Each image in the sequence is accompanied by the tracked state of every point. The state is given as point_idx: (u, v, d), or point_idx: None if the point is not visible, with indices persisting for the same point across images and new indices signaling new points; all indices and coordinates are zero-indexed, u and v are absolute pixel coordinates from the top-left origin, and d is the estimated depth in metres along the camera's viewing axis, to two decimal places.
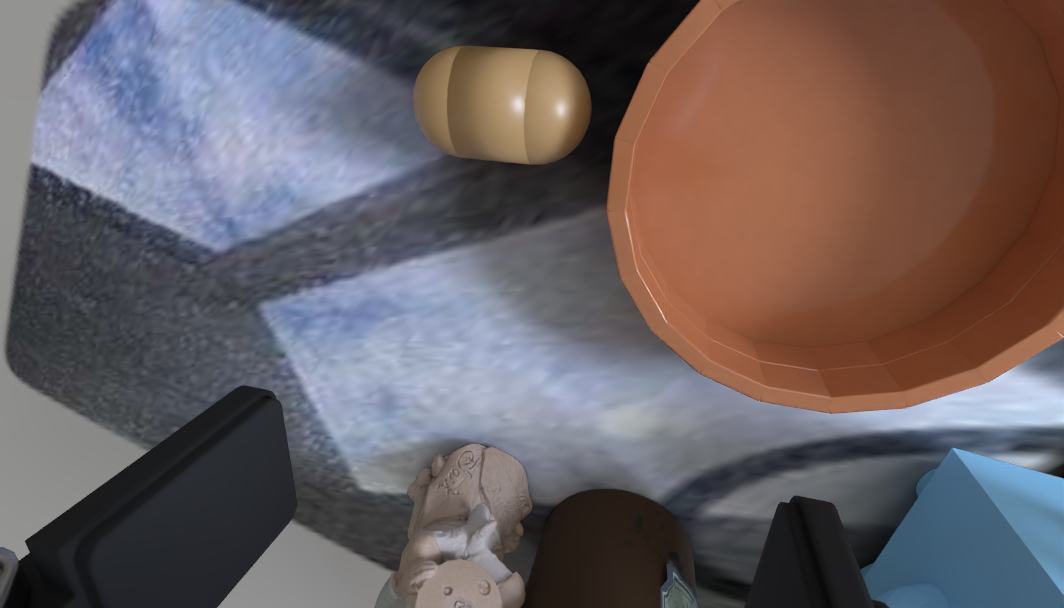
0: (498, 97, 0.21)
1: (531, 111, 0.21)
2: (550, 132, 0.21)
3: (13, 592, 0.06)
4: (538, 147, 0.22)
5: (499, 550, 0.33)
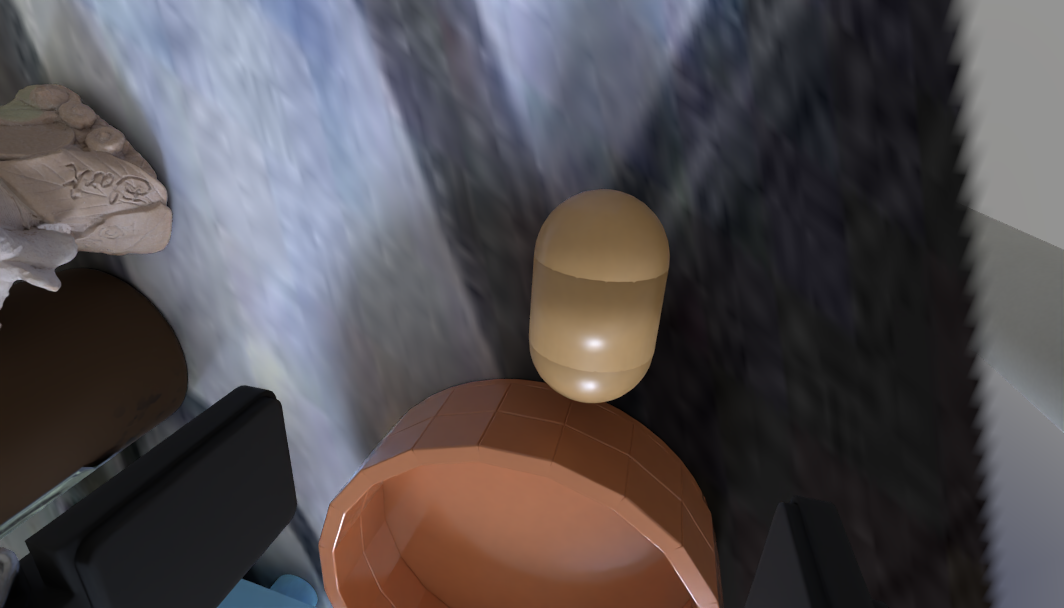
0: (599, 342, 0.17)
1: (582, 376, 0.18)
2: (560, 386, 0.18)
3: (12, 592, 0.06)
4: (544, 369, 0.19)
5: None
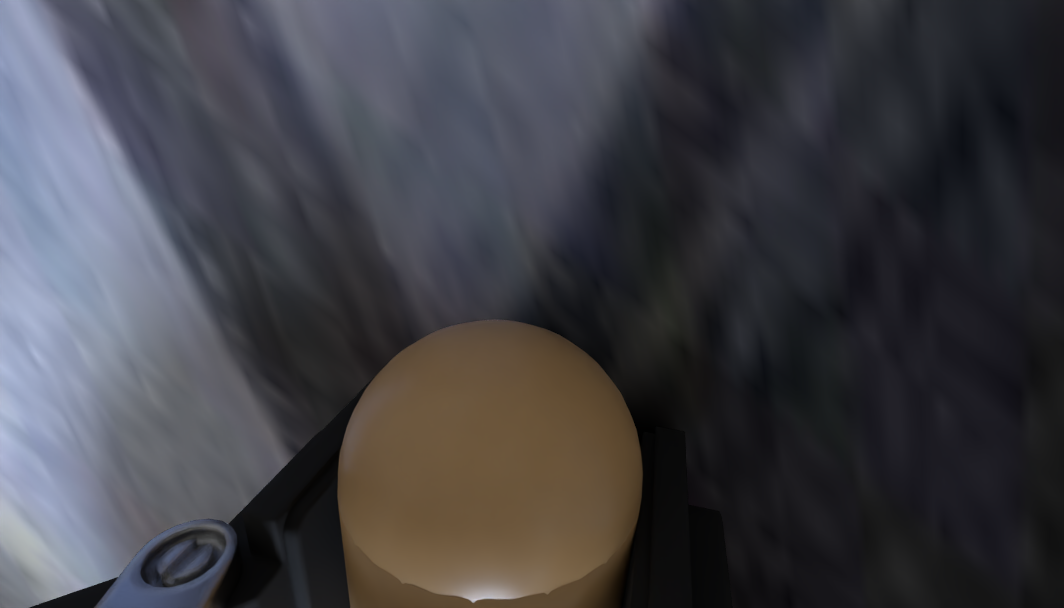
0: None
1: None
2: None
3: (237, 559, 0.07)
4: None
5: None
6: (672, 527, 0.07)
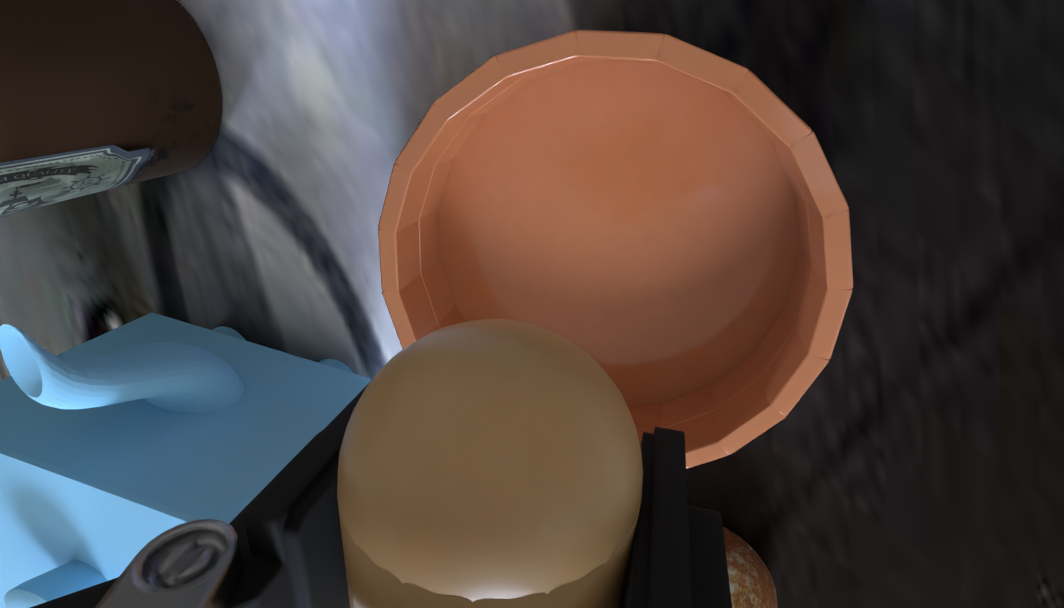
0: None
1: None
2: None
3: (237, 559, 0.07)
4: None
5: None
6: (672, 527, 0.07)
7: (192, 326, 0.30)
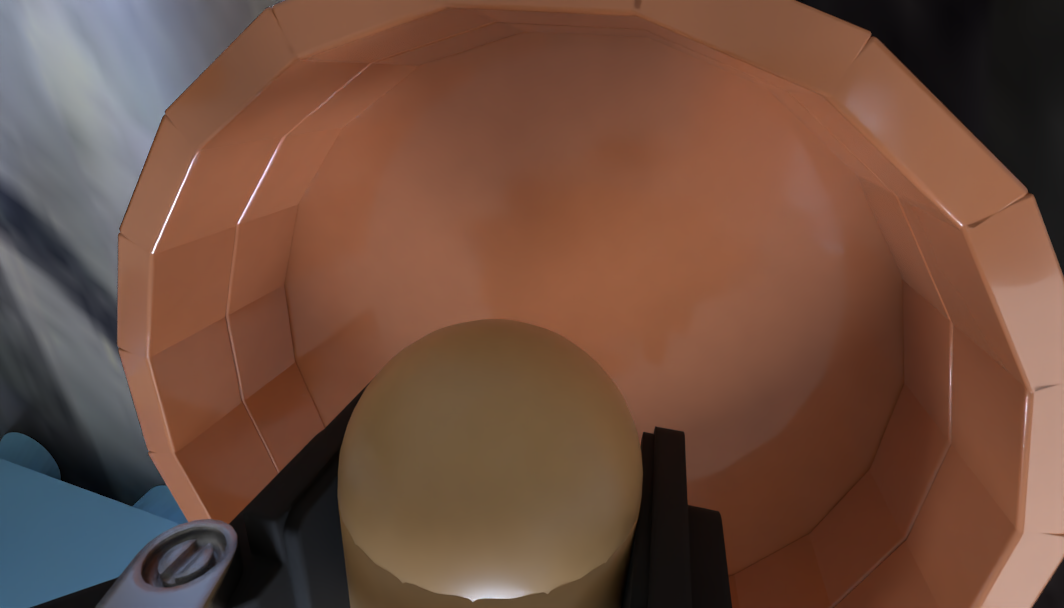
0: None
1: None
2: None
3: (237, 559, 0.07)
4: None
5: None
6: (672, 527, 0.07)
7: None
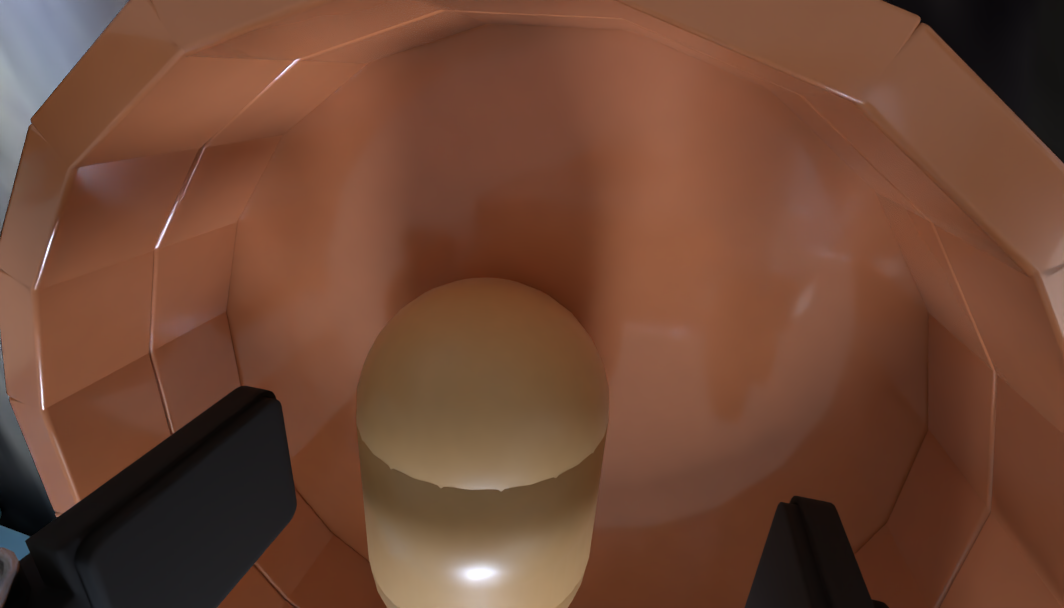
0: (444, 585, 0.09)
1: None
2: None
3: (13, 592, 0.06)
4: None
5: None
6: None
7: None
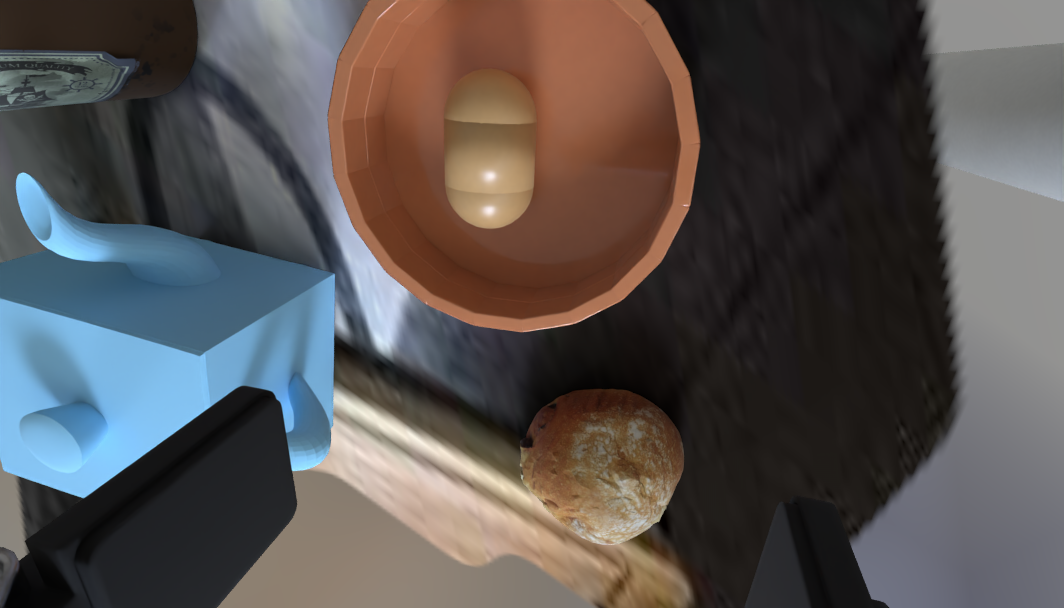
0: (464, 168, 0.25)
1: (458, 195, 0.26)
2: (453, 206, 0.27)
3: (13, 592, 0.06)
4: None
5: None
6: None
7: None
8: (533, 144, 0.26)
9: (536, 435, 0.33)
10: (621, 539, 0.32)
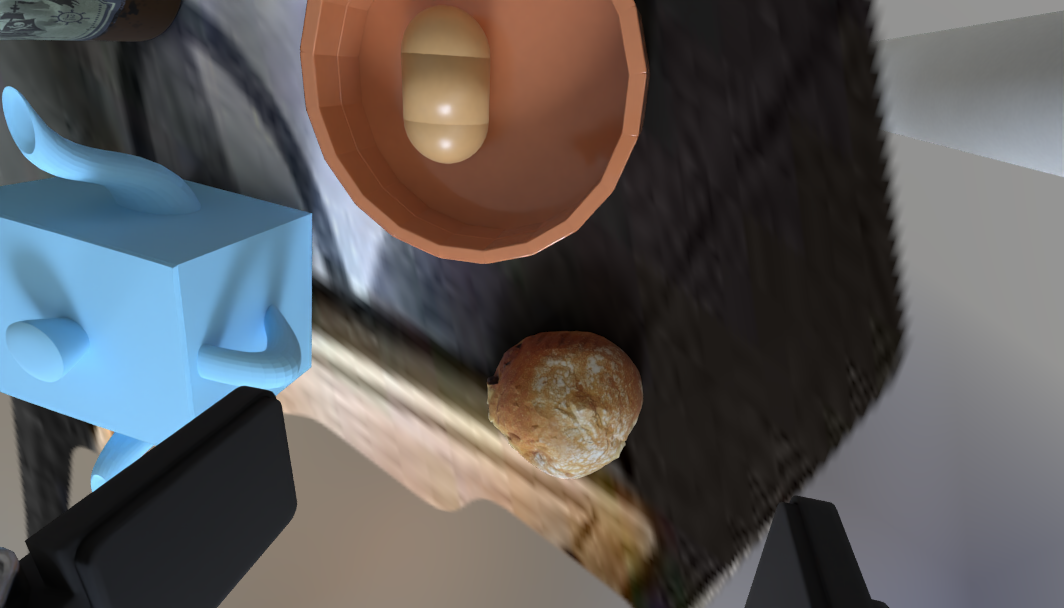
0: (411, 98, 0.27)
1: (408, 125, 0.28)
2: (409, 138, 0.29)
3: (13, 592, 0.06)
4: None
5: None
6: None
7: None
8: (481, 79, 0.27)
9: (501, 372, 0.34)
10: (580, 471, 0.33)
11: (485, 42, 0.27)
